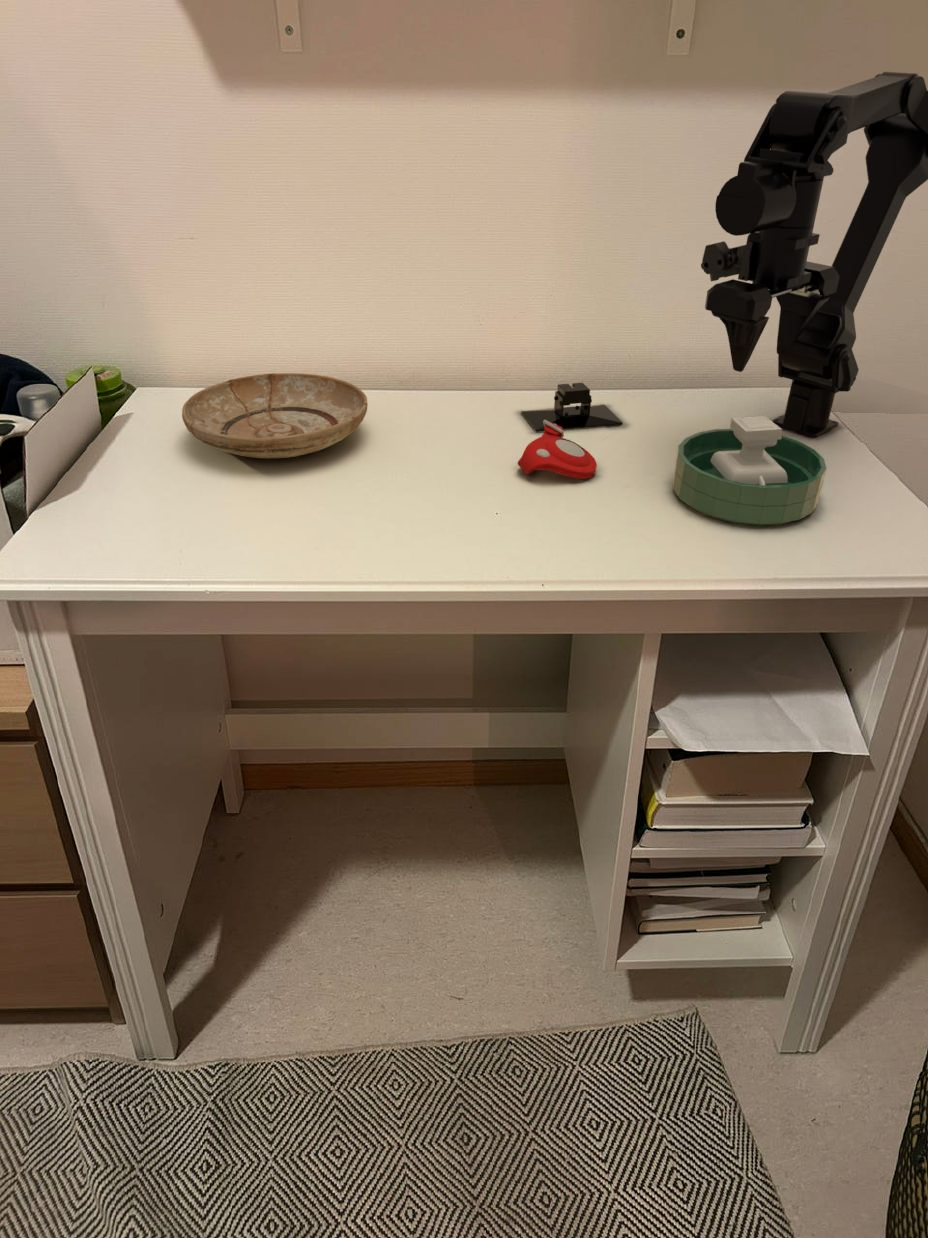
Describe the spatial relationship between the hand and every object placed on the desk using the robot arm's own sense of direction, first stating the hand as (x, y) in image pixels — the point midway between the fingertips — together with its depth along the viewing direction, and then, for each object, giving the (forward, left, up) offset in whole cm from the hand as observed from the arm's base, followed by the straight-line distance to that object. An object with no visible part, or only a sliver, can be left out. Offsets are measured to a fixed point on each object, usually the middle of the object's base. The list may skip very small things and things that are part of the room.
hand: (759, 362), depth 110 cm
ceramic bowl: (+42, -42, -12) cm, 61 cm away
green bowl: (+10, +7, -12) cm, 17 cm away
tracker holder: (+20, -13, -12) cm, 27 cm away
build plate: (+8, -22, -12) cm, 27 cm away
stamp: (+10, +7, -12) cm, 17 cm away
